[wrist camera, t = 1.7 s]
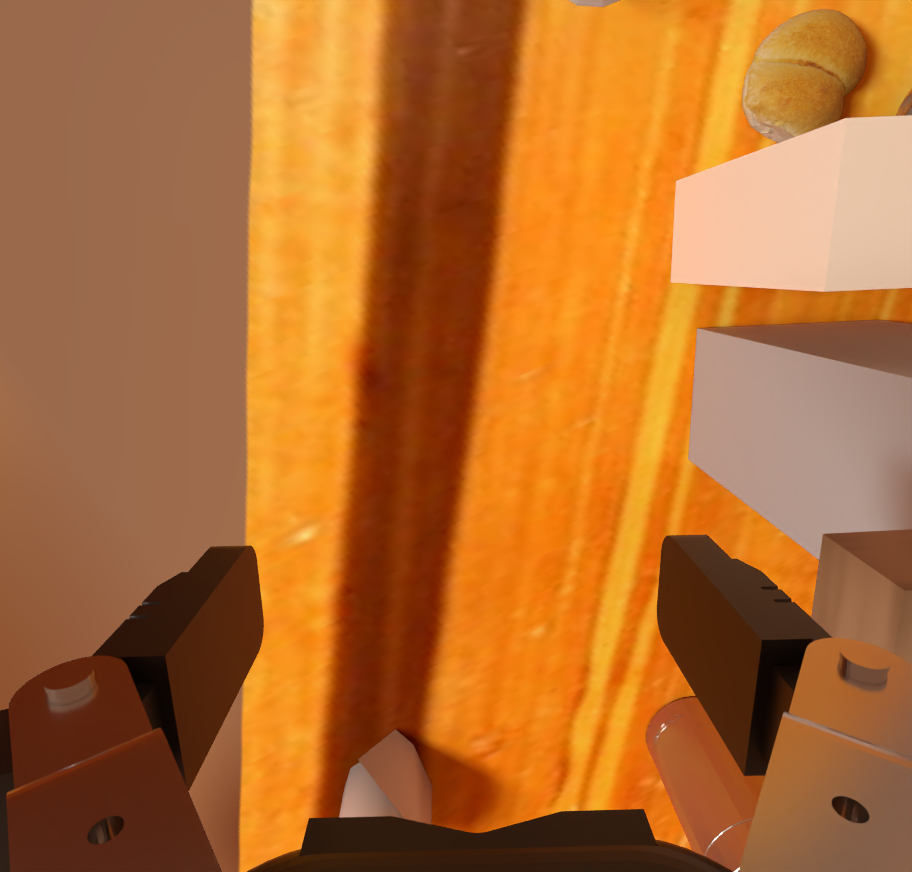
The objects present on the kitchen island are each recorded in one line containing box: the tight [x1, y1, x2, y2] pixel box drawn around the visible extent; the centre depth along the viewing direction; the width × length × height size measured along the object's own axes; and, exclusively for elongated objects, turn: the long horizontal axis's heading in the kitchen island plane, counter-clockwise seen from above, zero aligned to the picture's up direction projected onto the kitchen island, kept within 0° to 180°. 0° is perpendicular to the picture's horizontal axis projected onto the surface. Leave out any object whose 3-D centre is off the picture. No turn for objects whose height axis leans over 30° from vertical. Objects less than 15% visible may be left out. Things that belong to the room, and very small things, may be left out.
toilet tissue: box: [339, 729, 432, 825], centre depth 60 cm, size 9×13×9 cm
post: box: [671, 115, 912, 292], centre depth 39 cm, size 8×8×21 cm
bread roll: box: [742, 9, 867, 143], centre depth 45 cm, size 8×9×4 cm
